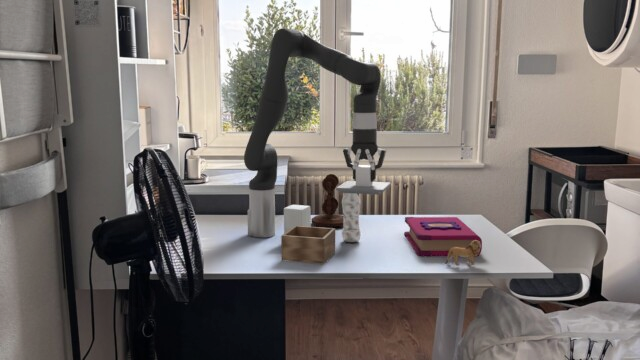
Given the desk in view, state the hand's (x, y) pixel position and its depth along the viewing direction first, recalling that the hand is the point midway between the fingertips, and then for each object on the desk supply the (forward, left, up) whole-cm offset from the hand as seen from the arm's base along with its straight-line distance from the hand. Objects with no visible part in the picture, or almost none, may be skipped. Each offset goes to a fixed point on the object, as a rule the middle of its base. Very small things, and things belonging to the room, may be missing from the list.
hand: (364, 180), depth 193 cm
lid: (0, 0, -2) cm, 2 cm away
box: (-17, -4, -25) cm, 30 cm away
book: (+23, +23, -26) cm, 41 cm away
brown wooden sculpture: (-21, +39, -25) cm, 51 cm away
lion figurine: (+31, +1, -25) cm, 40 cm away
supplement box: (-26, +12, -25) cm, 38 cm away
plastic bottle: (-8, +17, -25) cm, 31 cm away
